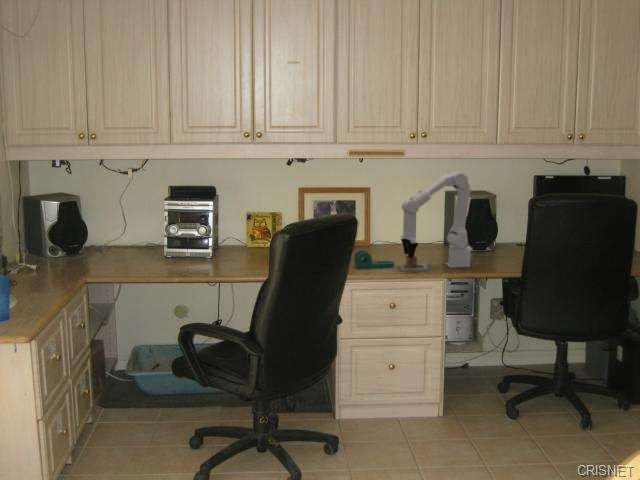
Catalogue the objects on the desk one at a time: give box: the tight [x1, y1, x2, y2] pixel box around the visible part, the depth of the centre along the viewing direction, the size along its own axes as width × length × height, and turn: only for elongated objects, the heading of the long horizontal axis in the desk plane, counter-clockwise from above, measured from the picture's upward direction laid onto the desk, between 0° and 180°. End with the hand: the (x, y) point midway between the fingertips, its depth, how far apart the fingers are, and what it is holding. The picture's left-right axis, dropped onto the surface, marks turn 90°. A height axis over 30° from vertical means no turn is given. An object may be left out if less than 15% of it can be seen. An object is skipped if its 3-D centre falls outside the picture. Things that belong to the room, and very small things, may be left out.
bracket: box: [353, 249, 395, 270], centre depth 322 cm, size 18×7×8 cm, turn 98°
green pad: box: [417, 262, 431, 267], centre depth 327 cm, size 6×6×1 cm
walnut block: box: [405, 255, 418, 268], centre depth 318 cm, size 4×4×6 cm
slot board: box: [398, 263, 430, 273], centre depth 318 cm, size 12×9×1 cm
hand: (409, 255), depth 317 cm, fingers open, 7 cm apart
